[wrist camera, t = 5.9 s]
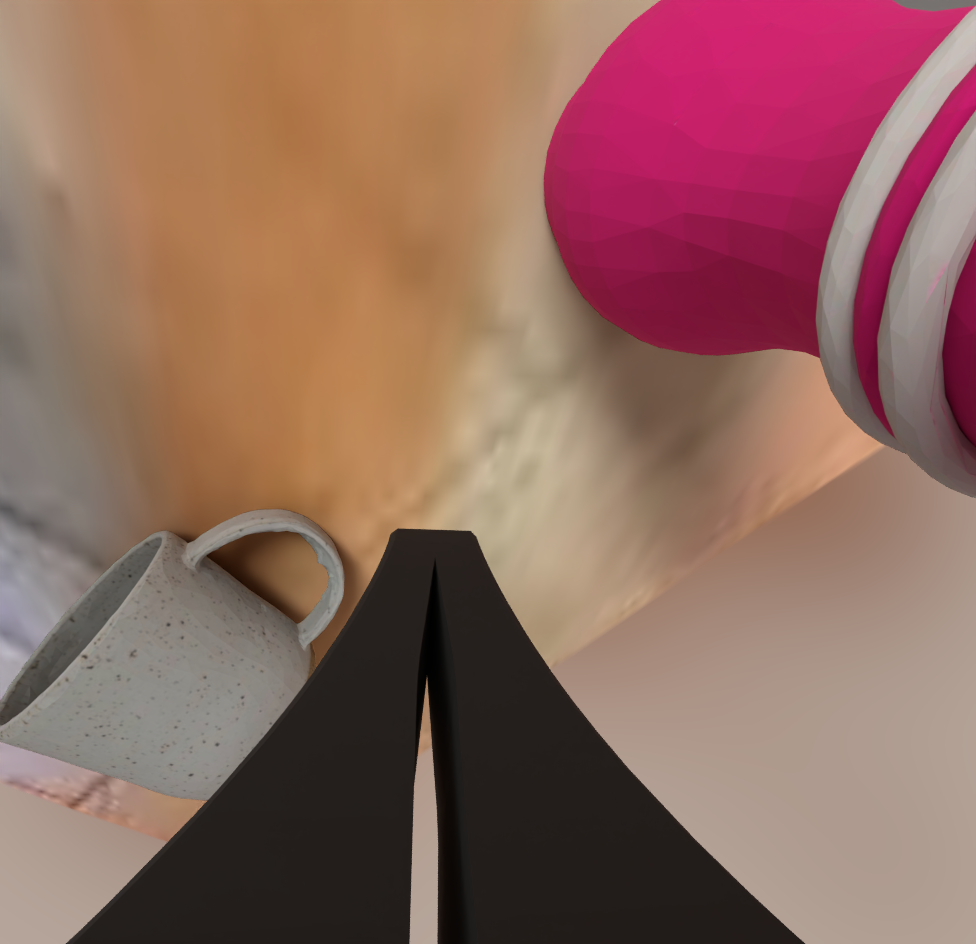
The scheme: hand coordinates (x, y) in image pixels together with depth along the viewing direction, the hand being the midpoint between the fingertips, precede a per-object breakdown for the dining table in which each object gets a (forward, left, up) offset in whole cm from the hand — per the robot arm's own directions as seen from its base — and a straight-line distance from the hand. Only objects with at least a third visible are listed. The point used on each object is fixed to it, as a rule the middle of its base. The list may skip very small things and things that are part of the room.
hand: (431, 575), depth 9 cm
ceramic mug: (-13, -1, -11) cm, 17 cm away
